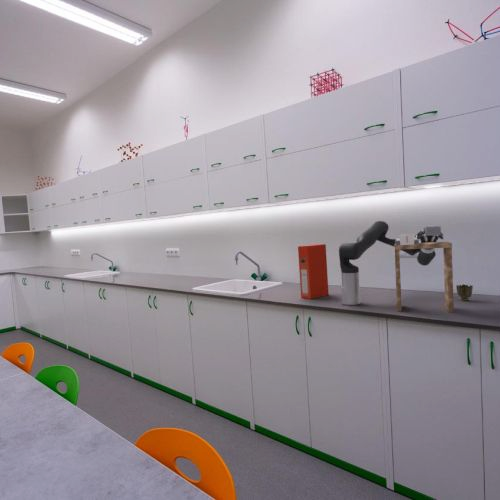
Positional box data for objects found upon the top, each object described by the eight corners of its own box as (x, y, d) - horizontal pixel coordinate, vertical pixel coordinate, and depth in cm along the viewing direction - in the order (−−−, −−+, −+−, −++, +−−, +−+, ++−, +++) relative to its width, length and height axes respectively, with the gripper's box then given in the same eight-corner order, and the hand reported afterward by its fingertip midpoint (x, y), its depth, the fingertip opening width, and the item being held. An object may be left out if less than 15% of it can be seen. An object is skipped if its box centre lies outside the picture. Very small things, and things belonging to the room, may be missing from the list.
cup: (453, 300, 188) (452, 285, 188) (462, 298, 191) (462, 283, 191) (466, 302, 181) (466, 287, 181) (476, 300, 184) (476, 285, 184)
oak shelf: (397, 311, 172) (394, 245, 170) (396, 305, 184) (394, 243, 182) (454, 312, 163) (451, 243, 161) (449, 306, 175) (447, 241, 173)
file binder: (300, 298, 220) (297, 246, 218) (318, 293, 231) (315, 244, 229) (311, 299, 214) (308, 246, 212) (328, 294, 225) (326, 244, 223)
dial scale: (395, 245, 169) (395, 234, 169) (395, 243, 182) (395, 234, 181) (418, 244, 166) (418, 233, 166) (417, 242, 178) (416, 232, 178)
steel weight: (426, 235, 167) (426, 227, 167) (423, 234, 185) (422, 226, 185) (440, 235, 165) (440, 226, 165) (435, 233, 183) (435, 226, 183)
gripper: (413, 238, 197) (414, 222, 183) (442, 237, 192) (445, 221, 178) (414, 250, 194) (415, 235, 180) (443, 249, 189) (447, 234, 175)
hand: (430, 228), depth 179 cm, fingers closed on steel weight, 3 cm apart
